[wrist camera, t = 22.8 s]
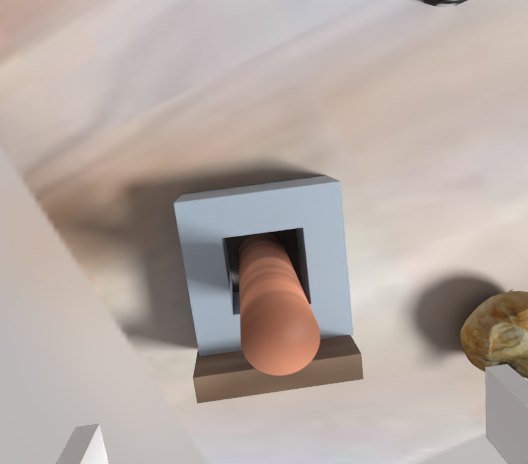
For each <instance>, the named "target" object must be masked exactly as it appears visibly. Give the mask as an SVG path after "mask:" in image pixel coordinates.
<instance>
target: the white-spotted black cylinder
mask: <svg viewBox="0 0 528 464" xmlns="http://www.w3.org/2000/svg"><path fill="white" fill-rule="evenodd" d="M421 1H423V2H424V3H427V4H430V5H434V6H443V7H446V6H453V5H457V4H460V3H462V2H465V1H467V0H421Z"/></svg>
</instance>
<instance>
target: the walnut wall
mask: <svg viewBox="0 0 528 464" xmlns="http://www.w3.org/2000/svg"><path fill="white" fill-rule="evenodd" d="M360 379H363V370H362V358H361V353H360V351H359V349H358V347H357V346H356V344H355V342H354V340H353V339H352V337H351V335H347V336H340V337H333V338H326V339H320V344H319V348H318V351H317V353H316V355H315V356H314V358H313V359H312V361H311V362H310V363H309V364H308V365H307V366H305V367H304V368H302V369H301V370H299V371H297V372H295V373H292V374H288V375H281V376H278V375H269V374H266V373H263V372H261V371H259V370H257V369H256V368H255V367H253V366H252V365H251V364H250V363H249V362H248V360H247V359H246V357H245V356H244V354H243V351H235V352H228V353H221V354H214V355H207V356H199V350H198V353H197V359H196V364H195V370H194V375H193V381H194V387H195V392H196V398H197V403H202V402H209V401H216V400H223V399H230V398H237V397H243V396H250V395H257V394H264V393H271V392H278V391H284V390H291V389H298V388H305V387H312V386H319V385H325V384H332V383H339V382H346V381H353V380H360Z"/></svg>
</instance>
